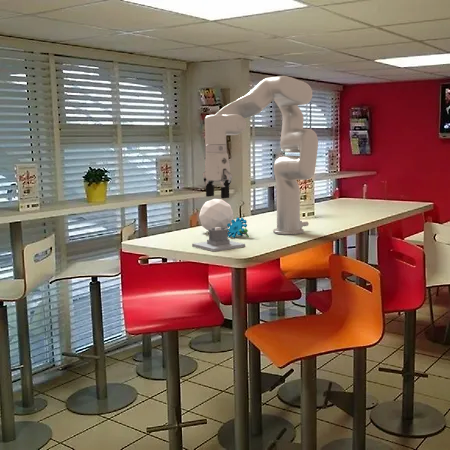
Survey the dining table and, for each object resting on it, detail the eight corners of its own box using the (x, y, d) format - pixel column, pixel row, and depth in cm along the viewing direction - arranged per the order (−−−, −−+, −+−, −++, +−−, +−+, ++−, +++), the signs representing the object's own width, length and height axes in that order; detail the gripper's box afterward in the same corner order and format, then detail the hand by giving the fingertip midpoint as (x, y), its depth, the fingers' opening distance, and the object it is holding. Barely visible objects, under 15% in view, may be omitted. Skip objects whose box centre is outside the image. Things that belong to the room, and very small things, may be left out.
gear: (219, 232, 240) (234, 213, 243) (226, 241, 244) (241, 222, 246) (236, 239, 232) (251, 220, 234) (244, 248, 235) (258, 229, 238)
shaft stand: (223, 241, 227) (222, 223, 226) (245, 246, 216) (244, 227, 215) (192, 246, 219) (191, 227, 218) (213, 251, 208) (212, 231, 207)
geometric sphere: (223, 245, 250) (227, 219, 239) (191, 231, 253) (194, 206, 243) (237, 224, 259) (241, 199, 249) (206, 212, 263) (209, 186, 252)
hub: (220, 237, 222) (220, 227, 221) (231, 239, 217) (231, 229, 216) (205, 239, 218) (205, 228, 218) (215, 242, 213) (215, 231, 212)
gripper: (238, 149, 208) (240, 197, 210) (211, 149, 222) (212, 194, 224) (221, 150, 204) (222, 199, 206) (194, 150, 218) (196, 196, 220)
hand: (217, 197), depth 215 cm, fingers open, 9 cm apart
